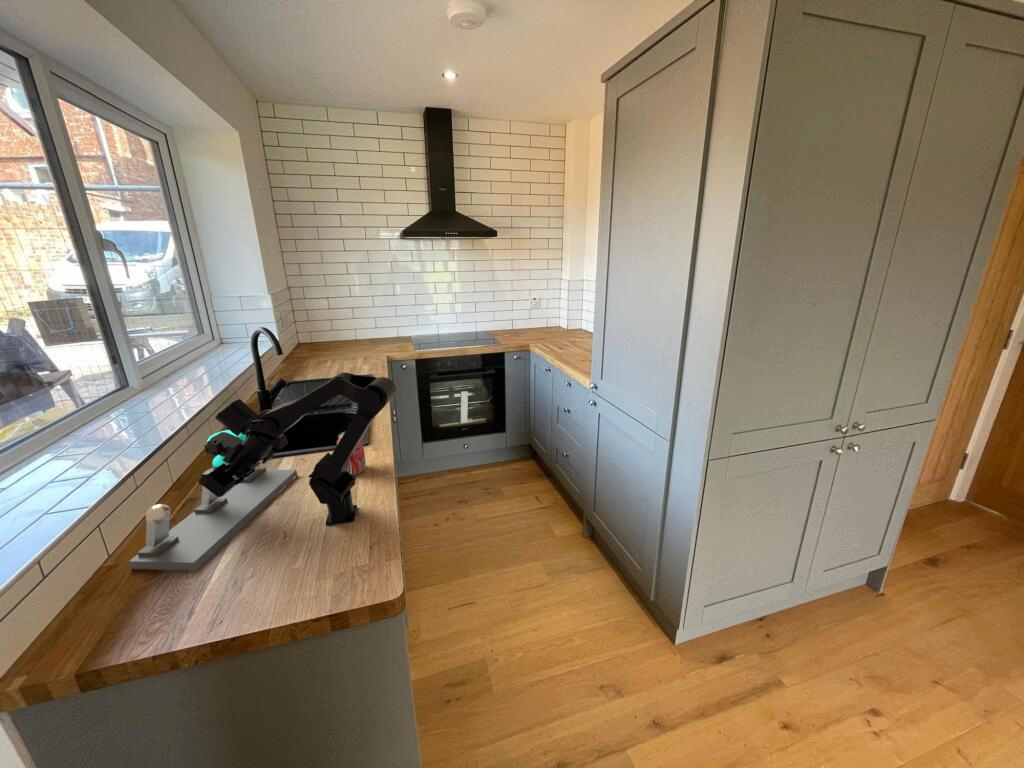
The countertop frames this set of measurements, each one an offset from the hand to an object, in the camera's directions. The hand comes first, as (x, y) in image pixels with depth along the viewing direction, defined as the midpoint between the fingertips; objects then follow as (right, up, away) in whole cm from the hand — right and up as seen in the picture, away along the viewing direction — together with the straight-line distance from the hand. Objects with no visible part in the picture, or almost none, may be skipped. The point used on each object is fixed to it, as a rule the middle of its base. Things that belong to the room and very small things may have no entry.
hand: (221, 486), depth 100 cm
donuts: (-16, 0, +28) cm, 33 cm away
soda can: (+24, -1, +22) cm, 33 cm away
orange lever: (-4, -4, +2) cm, 6 cm away
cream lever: (-5, -9, -13) cm, 16 cm away
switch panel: (0, -7, +2) cm, 8 cm away
